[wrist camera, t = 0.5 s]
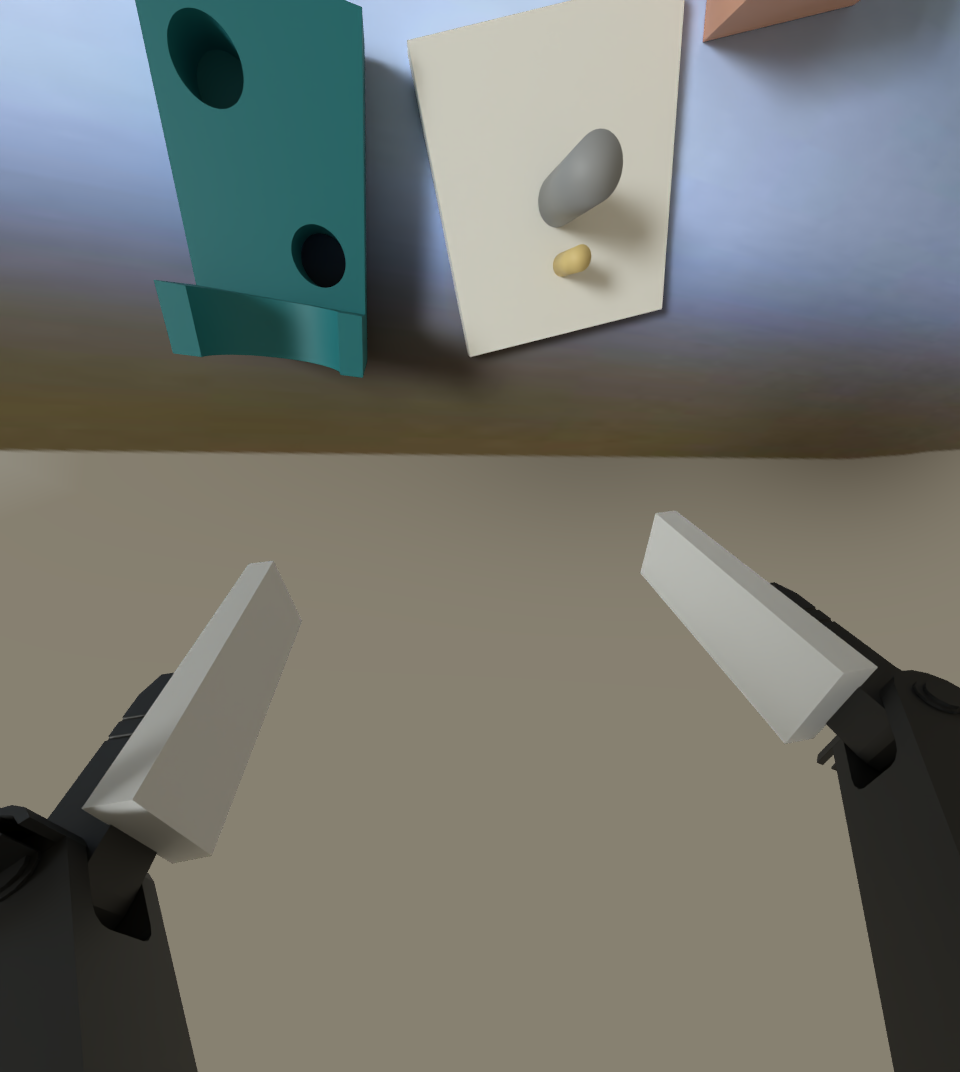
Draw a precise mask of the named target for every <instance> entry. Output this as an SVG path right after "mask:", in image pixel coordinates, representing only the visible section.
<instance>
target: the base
mask: <svg viewBox="0 0 960 1072" xmlns="http://www.w3.org/2000/svg"><path fill="white" fill-rule="evenodd" d="M683 14H684V0H571V1H567V2H563V3H559V4H554V5H550V6H546V7H542V8H538V9H534V10H530V11H526V12H522V13H518V14H513V15H509V16H505V17H501V18H497V19H493V20H489V21H485V22H481V23H477V24H472V25H468V26H464V27H460V28H456V29H452V30H448V31H444V32H440V33H436V34H431V35H427V36H423V37H419V38H415V39H411V40H407V48H408V59H409V64H410V69H411V73H412V78H413V83H414V88H415V93H416V98H417V103H418V108H419V113H420V118H421V123H422V128H423V133H424V138H425V143H426V148H427V153H428V158H429V163H430V168H431V173H432V178H433V183H434V188H435V193H436V198H437V202H438V207H439V212H440V217H441V222H442V227H443V232H444V237H445V242H446V247H447V252H448V257H449V262H450V267H451V272H452V277H453V282H454V287H455V292H456V297H457V302H458V307H459V312H460V317H461V322H462V326H463V331H464V336H465V341H466V346H467V351H468V356H470V357H472V356H476V355H480V354H484V353H488V352H492V351H496V350H500V349H504V348H508V347H512V346H516V345H520V344H524V343H528V342H532V341H536V340H540V339H544V338H548V337H552V336H556V335H560V334H564V333H568V332H572V331H576V330H580V329H584V328H588V327H592V326H596V325H600V324H604V323H608V322H612V321H616V320H620V319H624V318H628V317H632V316H636V315H640V314H644V313H648V312H652V311H656V310H660V309H662V301H663V287H664V274H665V260H666V246H667V233H668V219H669V205H670V192H671V178H672V164H673V151H674V137H675V123H676V110H677V96H678V82H679V69H680V55H681V41H682V27H683Z"/></svg>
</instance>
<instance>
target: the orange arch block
mask: <svg viewBox="0 0 960 1072" xmlns="http://www.w3.org/2000/svg"><path fill="white" fill-rule="evenodd" d="M859 1H860V0H707V3H706V14H705V24H704V35H703V42H705V41H710V40H714V39H718V38H722V37H726V36H730V35H734V34H738V33H742V32H746V31H750V30H754V29H758V28H763V27H767V26H771V25H775V24H779V23H783V22H787V21H791V20H795V19H799V18H803V17H807V16H811V15H815V14H820V13H824V12H828V11H832V10H836V9H840V8H844V7H848V6H852V5H854V4H856V3H857V2H859Z"/></svg>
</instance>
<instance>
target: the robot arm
mask: <svg viewBox="0 0 960 1072" xmlns="http://www.w3.org/2000/svg"><path fill="white" fill-rule="evenodd" d="M641 574H642V575H643V577H644V578H645V579H646V580H647V581H648V582H649V584H650V585H651V586H652V587H653V588H654V590H655V591H656V592H657V593H658V594H659V595H660V597H661V598H662V599H663V600H664V601H665V603H666V604H667V605H668V606H669V607H670V608H671V610H672V611H673V612H674V613H675V614H676V615H677V617H678V618H679V619H680V620H681V621H682V623H683V624H684V625H685V626H686V627H687V629H688V630H689V631H690V632H691V633H692V634H693V636H694V637H695V638H696V639H697V640H698V642H699V643H700V644H701V645H702V646H703V647H704V649H705V650H706V651H707V652H708V653H709V654H710V656H711V657H712V658H713V659H714V660H715V662H716V663H717V664H718V665H719V666H720V668H721V669H722V670H723V671H724V672H725V673H726V675H727V676H728V677H729V678H730V679H731V681H732V682H733V683H734V684H735V685H736V686H737V688H738V689H739V690H740V691H741V692H742V694H743V695H744V696H745V697H746V698H747V699H748V701H749V702H750V703H751V704H752V705H753V707H754V708H755V709H756V710H757V711H758V712H759V714H760V715H761V716H762V717H763V718H764V720H765V721H766V722H767V723H768V724H769V725H770V727H771V728H772V729H773V730H774V731H775V733H776V734H777V735H778V736H779V737H780V738H781V740H782V741H783V742H784V743H785V744H787V743H792V742H797V741H803V740H807V739H813V738H814V737H815V736H816V735H817V734H818V733H819V732H820V731H821V730H822V728H823V727H824V726H825V725H826V724H827V725H828V726H829V727H830V728H831V729H832V730H833V731H834V732H835V733H836V734H837V736H836V737H835V738H834V739H833V740H832V741H831V742H830V743H829V744H828V745H827V746H826V747H825V748H824V749H823V750H822V751H821V752H820V753H819V754H818V758H817V763H819V764H822V765H823V764H824V763H825V762H826V761H827V760H828V759H829V758H830V757H831V756H832V755H834V758H835V764H834V765H833V766H832V769H834V770H836V771H837V773H838V779H839V784H840V789H841V794H842V800H843V805H844V810H845V816H846V820H847V825H848V831H849V836H850V842H851V847H852V852H853V858H854V863H855V868H856V873H857V879H858V884H859V889H860V894H861V900H862V905H863V910H864V915H865V921H866V925H867V931H868V936H869V942H870V947H871V952H872V957H873V963H874V968H875V973H876V978H877V984H878V988H879V994H880V999H881V1004H882V1009H883V1015H884V1020H885V1025H886V1031H887V1036H888V1041H889V1046H890V1051H891V1057H892V1062H893V1067H894V1072H960V688H959V687H957V686H955V685H954V684H952V683H950V682H948V681H946V680H944V679H941V678H939V677H936V676H933V675H930V674H928V673H923V672H918V671H914V670H908V671H901V670H900V669H898V668H896V667H895V666H894V665H892V664H891V663H889V662H888V661H887V660H886V659H884V658H883V657H882V656H880V655H879V654H877V653H876V652H875V651H873V650H872V649H871V648H870V647H868V646H867V645H865V644H864V643H863V642H861V641H860V640H859V639H857V638H856V637H855V636H853V635H852V634H851V633H849V632H848V631H847V630H845V629H844V628H843V627H841V626H840V625H838V624H837V623H836V622H832V621H831V620H830V618H829V617H828V616H826V615H825V614H824V613H823V612H821V611H820V610H816V609H815V607H814V606H813V605H812V604H810V603H809V602H808V601H806V600H805V599H804V598H802V597H801V596H800V595H798V594H797V593H795V592H793V591H791V590H789V589H787V588H785V587H783V586H781V585H778V584H777V583H775V582H774V583H769V582H767V581H766V580H765V579H763V578H762V577H761V576H759V575H758V574H757V573H756V572H754V571H753V570H752V569H750V568H749V567H748V566H747V565H745V564H744V563H743V562H741V561H740V560H739V559H738V558H736V557H735V556H734V555H732V554H731V553H730V552H729V551H727V550H726V549H725V548H723V547H722V546H721V545H720V544H718V543H717V542H715V541H714V540H713V539H712V538H710V537H709V536H708V535H707V534H705V533H704V532H703V531H701V530H700V529H699V528H698V527H696V526H695V525H693V524H692V523H691V522H690V521H689V520H687V519H686V518H685V517H683V516H682V515H681V514H679V513H678V512H677V511H669V512H661V513H656V514H655V519H654V522H653V526H652V530H651V534H650V538H649V542H648V546H647V550H646V554H645V558H644V561H643V565H642V570H641ZM301 622H302V620H301V617H300V615H299V613H298V611H297V609H296V607H295V605H294V603H293V601H292V599H291V596H290V594H289V592H288V590H287V588H286V586H285V584H284V582H283V580H282V578H281V575H280V573H279V571H278V569H277V567H276V565H275V563H274V561H268V562H260V563H252V564H249V565H248V566H247V567H246V569H245V570H244V572H243V573H242V575H241V576H240V577H239V579H238V580H237V582H236V583H235V585H234V586H233V588H232V590H231V591H230V592H229V594H228V595H227V597H226V598H225V599H224V601H223V602H222V604H221V605H220V607H219V608H218V610H217V611H216V613H215V614H214V616H213V617H212V618H211V620H210V621H209V623H208V624H207V626H206V627H205V629H204V630H203V632H202V633H201V635H200V636H199V638H198V639H197V641H196V642H195V643H194V645H193V646H192V648H191V649H190V651H189V652H188V654H187V655H186V657H185V658H184V659H183V661H182V662H181V664H180V665H179V667H178V668H177V670H176V671H175V673H170V674H163V675H161V676H160V677H159V678H157V679H156V680H155V681H154V682H153V683H152V684H151V685H150V686H148V687H147V688H146V689H145V690H144V691H143V692H142V693H141V694H139V696H138V697H137V698H136V700H135V701H134V702H133V704H132V705H131V706H130V708H129V709H128V711H127V712H126V713H125V715H124V716H123V720H122V721H121V722H119V723H118V724H117V725H116V727H115V728H114V729H113V731H112V732H111V734H110V735H109V740H108V741H105V742H104V743H103V744H102V746H101V747H100V748H99V750H98V751H97V753H96V754H95V755H94V757H93V758H92V759H91V761H90V762H89V764H88V765H87V766H86V767H85V769H84V770H83V772H82V773H81V774H80V776H79V777H78V779H77V780H76V781H75V783H74V784H73V785H72V787H71V788H70V789H69V791H68V792H67V793H66V795H65V796H64V798H63V799H62V800H61V802H60V803H59V804H58V805H57V807H56V808H55V810H54V811H53V812H52V814H51V815H50V816H49V818H48V819H46V818H44V817H41V816H40V815H38V814H36V813H34V812H33V811H31V810H29V809H27V808H25V807H20V806H13V805H11V806H7V807H4V808H0V1072H197V1067H196V1063H195V1058H194V1054H193V1050H192V1046H191V1041H190V1037H189V1032H188V1028H187V1024H186V1019H185V1015H184V1010H183V1006H182V1002H181V997H180V993H179V989H178V985H177V980H176V976H175V972H174V967H173V962H172V958H171V954H170V950H169V946H168V941H167V936H166V932H165V928H164V924H163V919H162V915H161V910H160V906H159V901H158V897H157V893H156V888H155V884H154V881H153V880H152V878H151V877H150V875H149V873H147V872H148V870H149V868H150V866H151V864H152V862H153V860H154V858H155V856H156V854H157V855H159V856H161V857H162V858H164V859H166V860H167V861H169V862H171V863H177V862H182V861H188V860H193V859H198V858H203V857H208V856H212V854H213V851H214V848H215V846H216V843H217V841H218V838H219V835H220V833H221V830H222V828H223V825H224V822H225V820H226V817H227V815H228V812H229V809H230V807H231V804H232V802H233V799H234V796H235V794H236V791H237V788H238V786H239V783H240V781H241V778H242V776H243V773H244V770H245V768H246V765H247V763H248V760H249V757H250V754H251V752H252V750H253V747H254V744H255V742H256V739H257V737H258V734H259V731H260V729H261V726H262V724H263V721H264V718H265V716H266V713H267V710H268V708H269V705H270V702H271V700H272V697H273V695H274V692H275V689H276V687H277V684H278V682H279V679H280V677H281V674H282V671H283V669H284V666H285V664H286V661H287V658H288V656H289V653H290V650H291V648H292V645H293V643H294V640H295V638H296V635H297V632H298V630H299V627H300V624H301Z"/></svg>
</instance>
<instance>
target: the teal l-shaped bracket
mask: <svg viewBox="0 0 960 1072" xmlns="http://www.w3.org/2000/svg"><path fill="white" fill-rule="evenodd" d="M135 2H136V7H137V11H138V16H139V20H140V25H141V30H142V34H143V39H144V44H145V48H146V53H147V58H148V62H149V67H150V72H151V76H152V81H153V86H154V90H155V95H156V100H157V104H158V109H159V113H160V118H161V123H162V127H163V132H164V137H165V141H166V146H167V151H168V155H169V160H170V165H171V169H172V174H173V179H174V183H175V188H176V193H177V197H178V202H179V207H180V211H181V216H182V220H183V225H184V230H185V234H186V239H187V244H188V248H189V253H190V258H191V262H192V267H193V272H194V276H195V281H196V285H193V284H184V283H175V282H167V281H158V280H154V283H155V287H156V290H157V294H158V298H159V302H160V305H161V309H162V313H163V317H164V321H165V324H166V328H167V332H168V336H169V339H170V343H171V347H172V351H173V353H175V354H183V355H191V356H199V357H203V356H209V355H256V356H268V357H278V358H286V359H293V360H299V361H305V362H310V363H315V364H320V365H324V366H327V367H330V368H333V369H335V370H337V371H339V372H340V375H346V376H354V377H362V378H363V375H364V371H365V367H366V364H367V285H366V169H365V54H364V33H363V17H362V7H360V6H358V5H355V4H353V3H350V2H348V1H345V0H135ZM316 233H322V234H326V235H329V236H331V237H333V238H334V239H335V240H337V241H338V242H339V243H340V245H341V246H342V249H343V251H344V255H345V261H346V267H345V272H344V275H343V277H342V279H341V280H340V282H339V283H338V284H336V285H335V286H332V287H328V288H322V287H320V286H318V285H317V284H315V283H314V282H313V281H312V280H311V279H310V278H309V276H308V275H307V273H306V272H305V269H304V267H303V264H302V260H301V250H302V246H303V243H304V242H305V240H306V239H307V238H308V237H309V236H311V235H313V234H316Z"/></svg>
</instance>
